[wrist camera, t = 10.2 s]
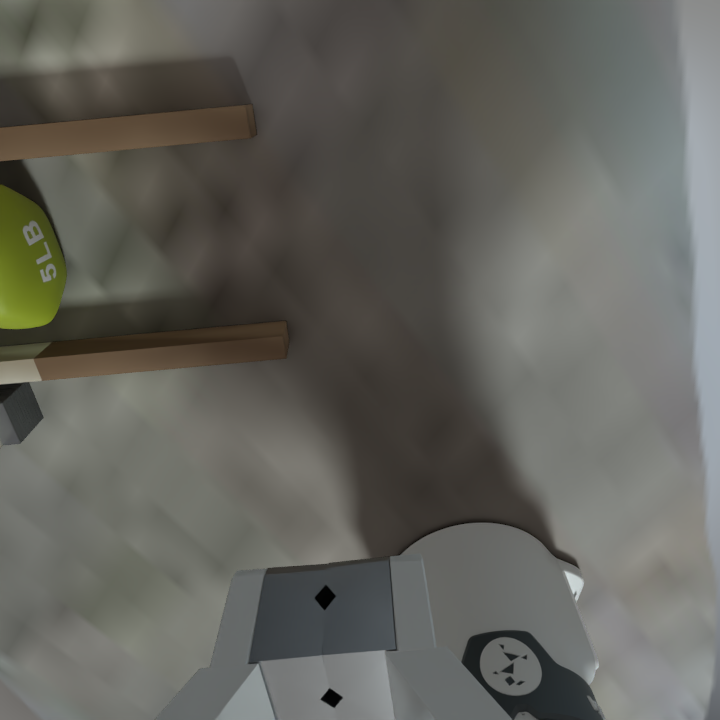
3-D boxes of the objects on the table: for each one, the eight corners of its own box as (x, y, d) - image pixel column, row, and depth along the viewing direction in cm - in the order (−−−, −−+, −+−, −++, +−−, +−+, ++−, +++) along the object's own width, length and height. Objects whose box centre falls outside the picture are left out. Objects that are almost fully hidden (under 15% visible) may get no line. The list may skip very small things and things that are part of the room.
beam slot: (289, 341, 35) (286, 358, 33) (-108, 378, 35) (-137, 396, 33) (252, 104, 28) (245, 105, 26) (-234, 148, 29) (-280, 153, 26)
